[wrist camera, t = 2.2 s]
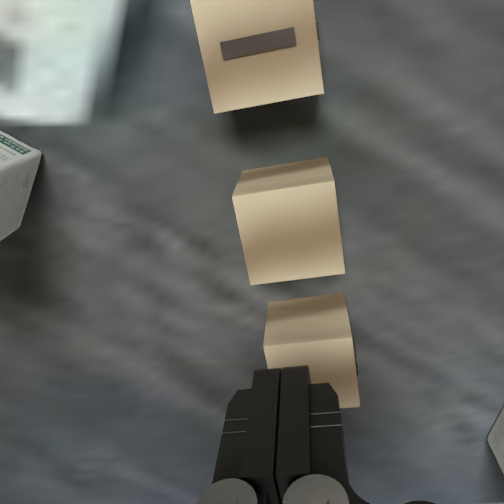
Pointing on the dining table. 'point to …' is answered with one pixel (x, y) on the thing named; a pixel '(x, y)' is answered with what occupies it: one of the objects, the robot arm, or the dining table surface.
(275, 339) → the light wooden cube
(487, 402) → the dining table surface
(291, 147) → the dining table surface
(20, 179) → the syrup box
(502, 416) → the supplement box
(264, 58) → the digit one block
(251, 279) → the plain block
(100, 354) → the dining table surface
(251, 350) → the dining table surface
